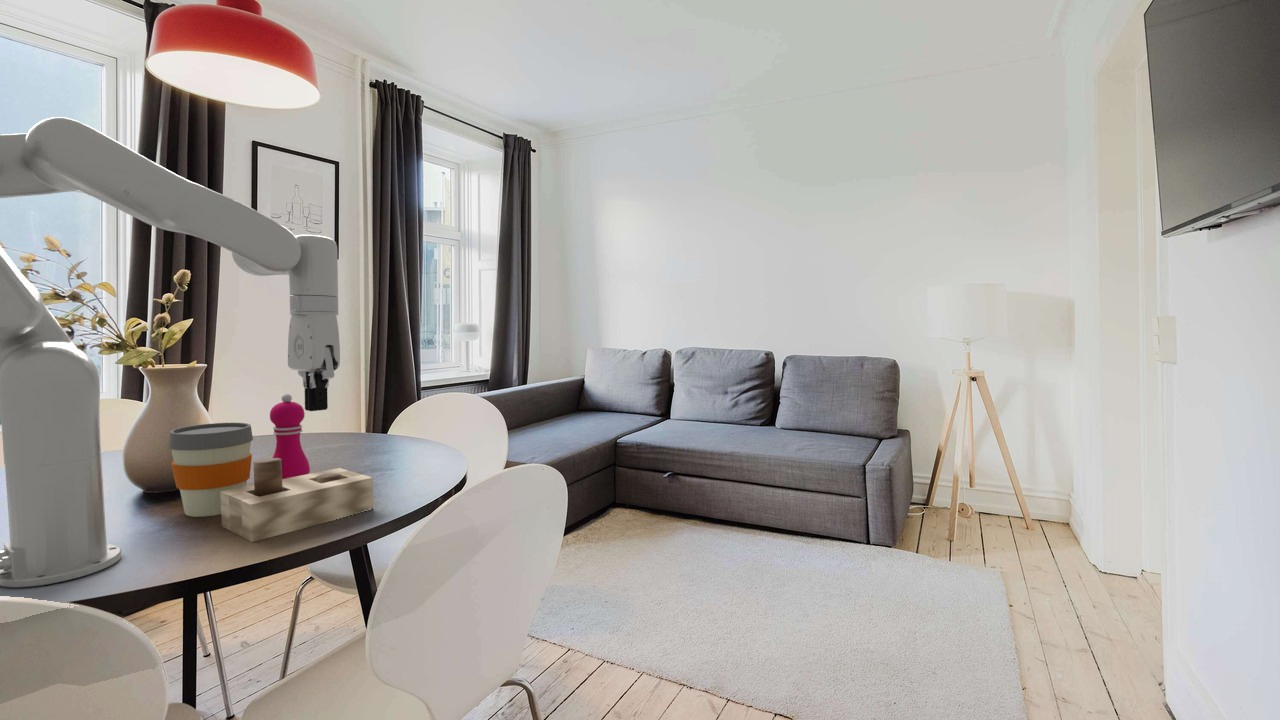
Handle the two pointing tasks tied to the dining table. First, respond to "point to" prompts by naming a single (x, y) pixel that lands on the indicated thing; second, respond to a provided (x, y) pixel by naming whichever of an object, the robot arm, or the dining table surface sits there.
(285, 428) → the pepper mill
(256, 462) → the near walnut peg
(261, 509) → the oak socket block
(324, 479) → the far walnut peg
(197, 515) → the reusable coffee cup
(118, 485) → the dining table surface
